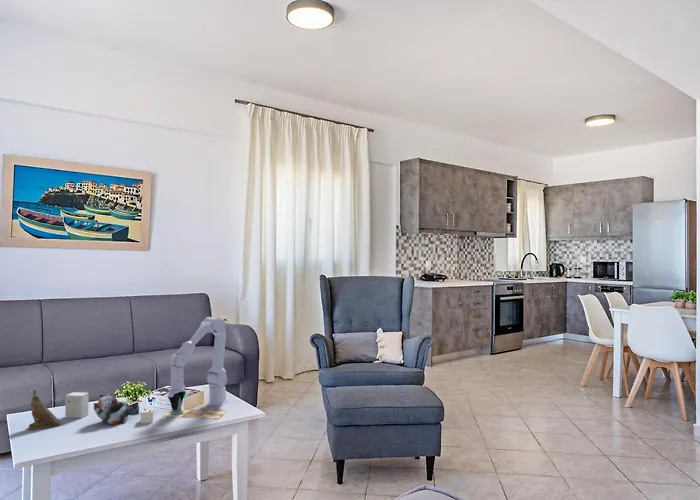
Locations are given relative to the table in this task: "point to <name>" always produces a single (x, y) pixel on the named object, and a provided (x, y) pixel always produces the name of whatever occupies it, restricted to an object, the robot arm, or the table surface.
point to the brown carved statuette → (41, 415)
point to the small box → (76, 405)
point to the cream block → (147, 415)
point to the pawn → (179, 410)
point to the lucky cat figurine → (112, 410)
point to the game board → (198, 414)
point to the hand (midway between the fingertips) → (176, 408)
